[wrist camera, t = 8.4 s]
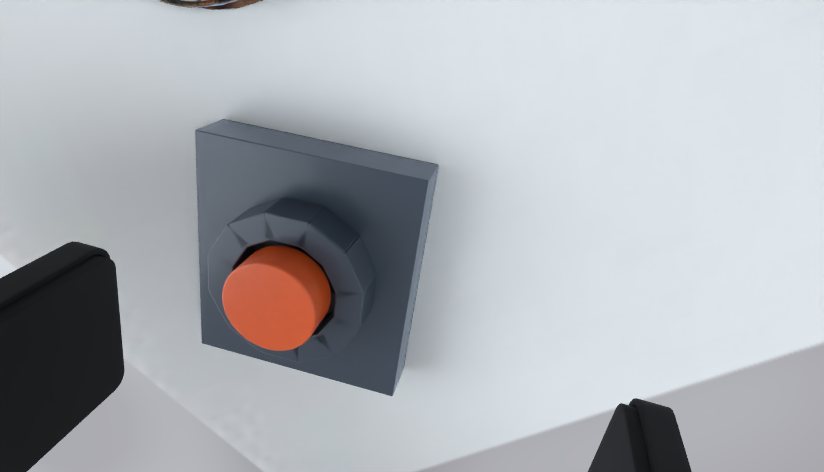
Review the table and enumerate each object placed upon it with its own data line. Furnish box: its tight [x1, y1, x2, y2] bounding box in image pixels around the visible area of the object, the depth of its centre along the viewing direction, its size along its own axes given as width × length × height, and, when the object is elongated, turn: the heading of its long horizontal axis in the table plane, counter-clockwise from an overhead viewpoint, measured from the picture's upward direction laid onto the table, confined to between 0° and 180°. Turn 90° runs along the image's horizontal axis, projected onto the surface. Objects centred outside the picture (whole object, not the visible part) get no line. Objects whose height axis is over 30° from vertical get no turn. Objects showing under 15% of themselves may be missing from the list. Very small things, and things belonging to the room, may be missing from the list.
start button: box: [222, 245, 331, 351], centre depth 22 cm, size 4×4×2 cm
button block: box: [195, 119, 438, 396], centre depth 24 cm, size 11×10×4 cm
